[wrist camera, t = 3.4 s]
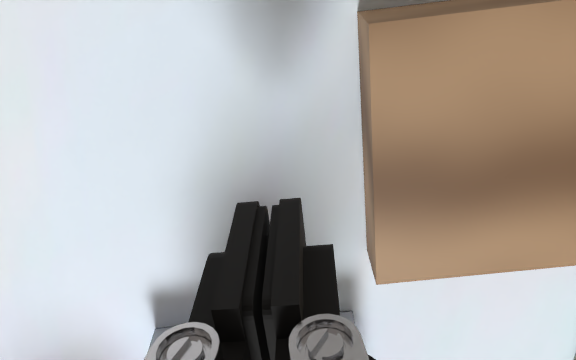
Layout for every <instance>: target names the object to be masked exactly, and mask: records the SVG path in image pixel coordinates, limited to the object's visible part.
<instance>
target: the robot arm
mask: <svg viewBox="0 0 576 360" xmlns="http://www.w3.org/2000/svg"><path fill="white" fill-rule="evenodd" d="M144 360H376V359H374V358H373V357H371V356H369V355H368V354H367V351H366V348H365V346H364V343H363V340H362V337H361V334H360V332H359V331H358V329H357V327H356V326H355V325H354V324H353V323H352V322H351V321H349V320H348V319H346V318H344V317H341V316H340V310H339V300H338V290H337V280H336V270H335V260H334V250H333V244H330V245H317V246H306V241H305V232H304V223H303V214H302V205H301V199H300V198H292V199H280V202H279V205H273V206H272V212H271V221H270V223H269V217H268V210H267V207H266V206H260V205H259V202H258V201H256V202H243V203H237V205H236V209H235V213H234V217H233V222H232V226H231V230H230V234H229V238H228V242H227V246H226V250H225V252H222V253H211V254H209V256H208V258H207V261H206V265H205V268H204V271H203V275H202V278H201V282H200V285H199V288H198V292H197V295H196V299H195V302H194V305H193V309H192V312H191V316H190V319H189V322H188V323H183V324H180V325H176V326H174V327H172V328H170V329H168V330H167V331H165V332H164V333H163V334H161V335H160V336H159V337H158V338H157V339H156V340H155V342H154V343H153V344H152V346H151V347H150V349H149V351H148V353H147V355H146V357H145V358H144Z"/></svg>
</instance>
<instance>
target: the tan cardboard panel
mask: <svg viewBox="0 0 576 360" xmlns="http://www.w3.org/2000/svg"><path fill="white" fill-rule="evenodd" d="M357 16H358V40H359V65H360V90H361V114H362V139H363V164H364V189H365V213H366V238H367V252H368V255H369V259H370V263H371V266H372V270H373V274H374V278H375V281H376V285H378V284H388V283H399V282H409V281H419V280H430V279H440V278H450V277H461V276H471V275H481V274H492V273H502V272H512V271H523V270H533V269H543V268H554V267H564V266H574V265H576V0H449V1H441V2H433V3H425V4H417V5H408V6H400V7H392V8H384V9H375V10H367V11H359V12H357Z"/></svg>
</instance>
